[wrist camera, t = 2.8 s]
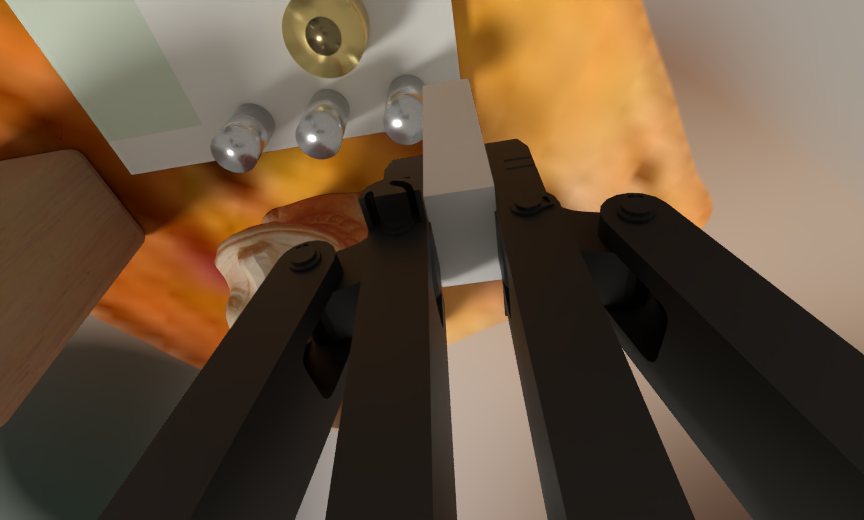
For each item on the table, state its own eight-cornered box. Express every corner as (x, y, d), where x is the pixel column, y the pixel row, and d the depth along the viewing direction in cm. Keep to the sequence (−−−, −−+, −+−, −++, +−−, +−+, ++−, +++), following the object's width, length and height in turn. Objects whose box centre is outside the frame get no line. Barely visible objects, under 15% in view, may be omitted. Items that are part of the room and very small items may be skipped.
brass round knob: (280, -8, 27) (266, 2, 25) (354, -30, 26) (346, -22, 24) (313, 71, 30) (303, 86, 28) (379, 53, 30) (375, 68, 27)
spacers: (135, -78, 25) (85, -70, 21) (424, -144, 23) (425, -149, 19) (245, 143, 34) (223, 175, 30) (457, 106, 32) (462, 136, 29)
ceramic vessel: (372, 134, 35) (350, 255, 24) (435, 332, 52) (440, 457, 41) (216, 167, 37) (127, 294, 25) (327, 349, 54) (303, 472, 43)
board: (-26, -63, 26) (-40, -61, 25) (430, -170, 23) (430, -172, 22) (137, 168, 36) (131, 174, 36) (464, 112, 34) (465, 118, 33)
